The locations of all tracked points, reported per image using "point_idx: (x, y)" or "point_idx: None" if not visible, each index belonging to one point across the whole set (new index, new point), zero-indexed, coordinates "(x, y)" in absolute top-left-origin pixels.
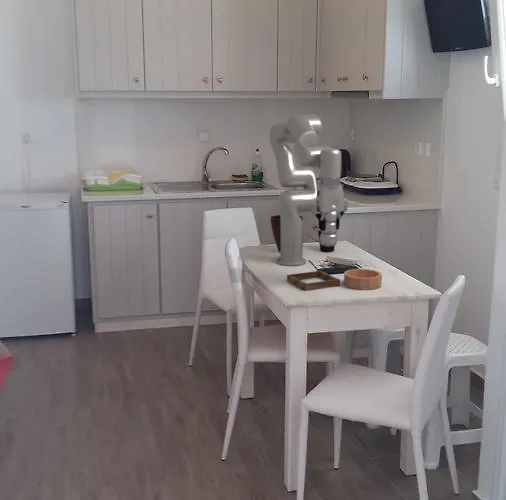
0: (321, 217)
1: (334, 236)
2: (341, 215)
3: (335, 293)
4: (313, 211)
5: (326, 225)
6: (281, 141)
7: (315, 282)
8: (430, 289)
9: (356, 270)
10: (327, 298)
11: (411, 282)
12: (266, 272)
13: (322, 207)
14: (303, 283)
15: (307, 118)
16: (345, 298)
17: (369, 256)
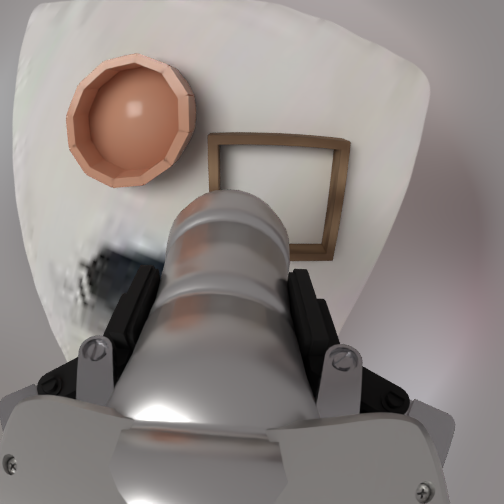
0: (358, 374)
1: (208, 211)
2: (69, 368)
3: (273, 67)
4: (446, 427)
5: (279, 297)
6: None
7: (309, 144)
8: (22, 44)
9: (119, 177)
10: (327, 40)
11: (22, 110)
12: None
13: (435, 482)
14: (348, 156)
15: None
16: (275, 13)
17: (54, 331)
